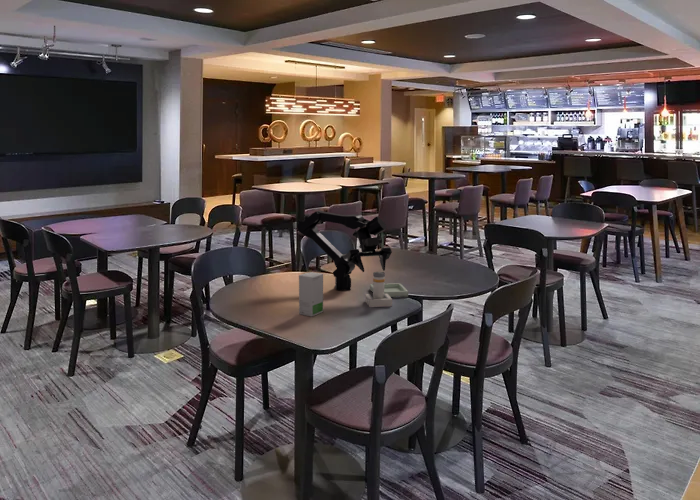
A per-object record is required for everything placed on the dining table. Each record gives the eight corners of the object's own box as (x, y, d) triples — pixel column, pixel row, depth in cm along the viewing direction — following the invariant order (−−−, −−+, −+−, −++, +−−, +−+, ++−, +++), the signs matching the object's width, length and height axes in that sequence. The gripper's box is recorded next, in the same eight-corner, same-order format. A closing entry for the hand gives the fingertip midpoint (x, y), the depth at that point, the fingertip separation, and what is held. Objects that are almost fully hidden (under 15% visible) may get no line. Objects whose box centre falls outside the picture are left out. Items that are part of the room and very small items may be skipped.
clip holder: (369, 307, 235) (369, 300, 234) (365, 301, 243) (365, 294, 243) (392, 306, 237) (392, 299, 236) (387, 300, 245) (387, 293, 244)
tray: (376, 298, 248) (376, 292, 247) (369, 289, 261) (369, 284, 261) (408, 296, 250) (408, 291, 250) (399, 288, 264) (400, 283, 263)
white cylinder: (373, 305, 237) (374, 274, 235) (371, 302, 242) (372, 271, 239) (385, 305, 238) (386, 274, 236) (382, 301, 243) (383, 271, 240)
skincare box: (311, 317, 221) (311, 277, 218) (297, 314, 225) (297, 275, 222) (324, 311, 228) (324, 273, 225) (310, 308, 232) (310, 271, 229)
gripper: (349, 230, 242) (357, 261, 234) (390, 228, 248) (400, 259, 240) (343, 245, 251) (351, 276, 243) (383, 243, 257) (392, 273, 249)
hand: (374, 271), depth 244 cm, fingers open, 9 cm apart
